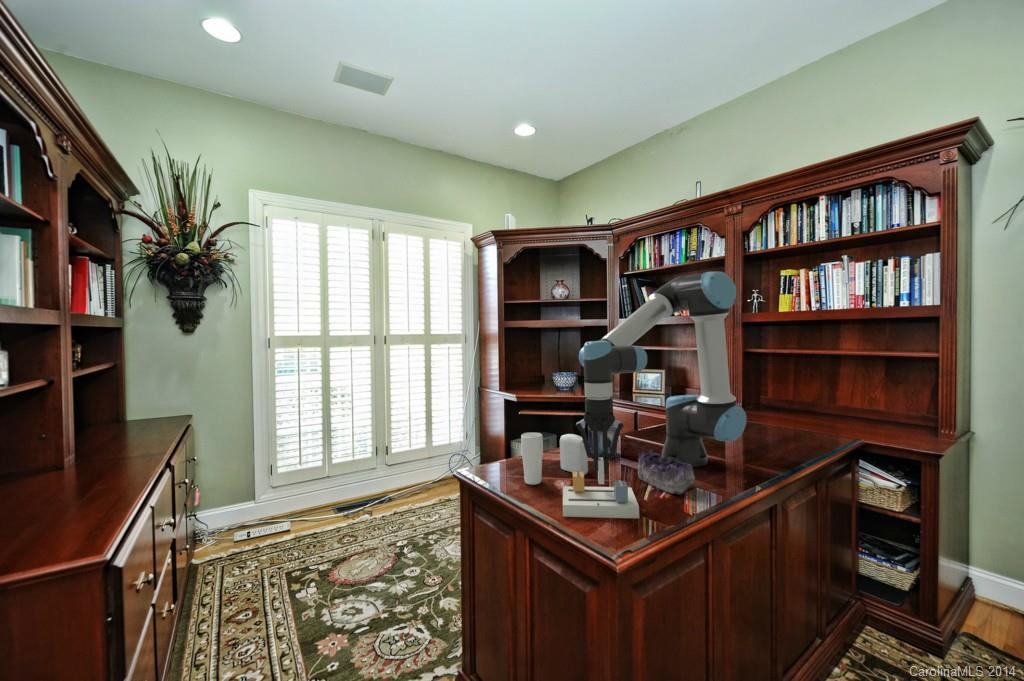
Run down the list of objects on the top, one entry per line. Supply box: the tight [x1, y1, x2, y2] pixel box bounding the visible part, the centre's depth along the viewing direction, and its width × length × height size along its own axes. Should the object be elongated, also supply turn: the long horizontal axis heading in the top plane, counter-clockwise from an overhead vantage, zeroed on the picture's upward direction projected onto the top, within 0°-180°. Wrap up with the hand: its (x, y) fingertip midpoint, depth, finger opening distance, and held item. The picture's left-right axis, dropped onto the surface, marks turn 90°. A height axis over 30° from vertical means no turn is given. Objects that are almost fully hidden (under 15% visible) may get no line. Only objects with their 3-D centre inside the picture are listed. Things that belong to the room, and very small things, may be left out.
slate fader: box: [613, 479, 629, 502], centre depth 111 cm, size 3×4×4 cm
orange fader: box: [572, 471, 585, 492], centre depth 119 cm, size 3×4×4 cm
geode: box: [637, 448, 696, 496], centre depth 131 cm, size 20×12×10 cm, turn 27°
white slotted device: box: [559, 433, 589, 476], centre depth 144 cm, size 10×4×12 cm, turn 39°
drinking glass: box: [520, 432, 544, 486], centre depth 135 cm, size 7×7×15 cm
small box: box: [587, 425, 618, 458], centre depth 162 cm, size 11×6×10 cm, turn 81°
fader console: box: [562, 485, 640, 519], centre depth 115 cm, size 19×13×3 cm
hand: (601, 482), depth 118 cm, fingers closed
